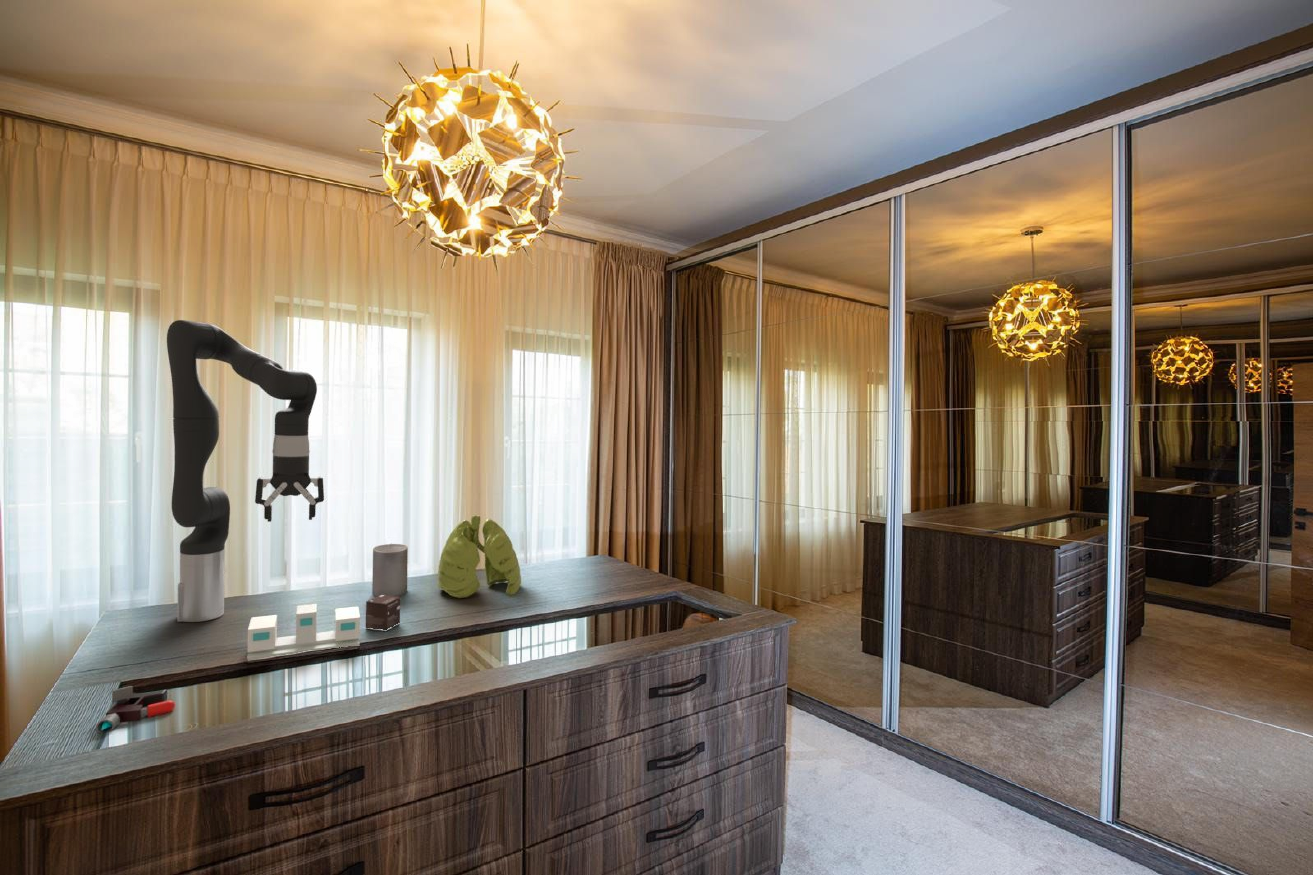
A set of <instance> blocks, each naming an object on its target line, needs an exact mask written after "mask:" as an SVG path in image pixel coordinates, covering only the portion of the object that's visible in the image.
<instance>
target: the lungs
mask: <svg viewBox="0 0 1313 875" xmlns="http://www.w3.org/2000/svg"><path fill="white" fill-rule="evenodd" d="M470 521H471V522H470ZM470 521H468V520H467V519H463V520H462V521H459V523H458V524H457V525H456V526H455V527H454V528H453V530H452V531H451V532H450V533H449V534H448V535H449V536H448V538H447V540H446V541H445V545H444V547H443V548H442V551H441V555H440V557H439V558H440V559H439V564H438V569H437V587H438V588H439V589H440V590H442V591H444V592H445V593H448V594H449V595H448V596H451V597H454V598H458V599H462V598H468V597H470V596H472V595H473V594H475V593H476V592H477V591H478V590H480V582H479V580H478V578H477V575H476V570H477V567H478V566H479V564H480V562H481V556H480V552H479V551H481V552H482V553H483V554H484V572H485V578H486V585H487V586H491V585H495V584H496V583H498V584H501V583H506V582H507V587H506V590H505V592H506V595H509V596H513V595H515V594H516V593H517V592H518V591H519V589H520V585H522V575H521V568H520V564H519V559H518V557H517V553H516V551H515V549H514V547H513V546H514V545H513V543H512V541H511V539H510V537H509V535H508V534H507V533H506V531H505V530H504V528H502V526H500V525H499V524H498V523H497V522H496V521H494V520H493V519H491V518H489V519H488V518H487V519H486V520H485V521H484V524H483V526H482V528H481V531H482V534H483V540H484V541H483V544H482V543H481V542H480V539H479V538H480V537H479V535H480V534H479V532H480V524H481V516H480V515H479V514H478V515H475V514H473V516H472V517H471V519H470Z"/></svg>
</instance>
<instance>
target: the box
mask: <svg viewBox="0 0 1313 875" xmlns="http://www.w3.org/2000/svg"><path fill="white" fill-rule="evenodd" d="M400 622H401V596H387V595H380V596H377V597H376V596H373V597H372V598H371V599H368V600H366V601H365V627H366V628H373V629H383V630H387V629H388V628H390V627H393V626H394V625H396V624H398V623H400ZM400 624H401V623H400Z"/></svg>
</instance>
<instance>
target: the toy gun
mask: <svg viewBox="0 0 1313 875" xmlns="http://www.w3.org/2000/svg"><path fill="white" fill-rule="evenodd" d="M111 692H112V693H111V702H112V703H115V704H114V705H113V706H112V707H111V708H110V709H108V711H107V712H106V713H105V716H104V717H103V718H101V720H100V721H99V722H98V723H97V724H96V727H95V730H96V731H97V733H102V732H103V731H104V730H105V729H109V728H111V729H110V730H109V732H112V731H113V730H114V729H115V728H116V727H117V726H118V725H119V724H120V723H128V722H129V723H131V722H140V721H141V720H142V718H143V717H147V718H151V717H154V716H158V715H163V714H166V713H170V712H172V711H173V710H174V709H175V707H176V703H175V701H173V700H171V699H168V690H167V689H159V690H154V691H150V692H149V691H148V692H139V693H136V692H134V686H133V685H129V686H124V687H120V688H115V689H112V691H111ZM167 699H168V700H167Z"/></svg>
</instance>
